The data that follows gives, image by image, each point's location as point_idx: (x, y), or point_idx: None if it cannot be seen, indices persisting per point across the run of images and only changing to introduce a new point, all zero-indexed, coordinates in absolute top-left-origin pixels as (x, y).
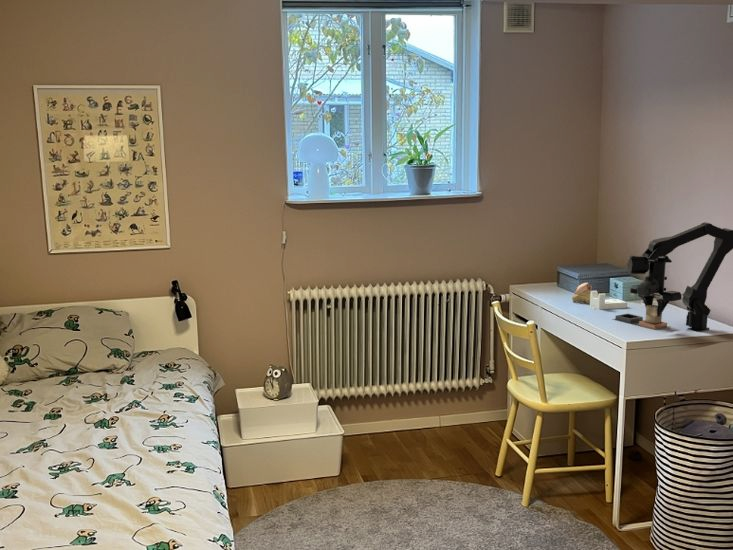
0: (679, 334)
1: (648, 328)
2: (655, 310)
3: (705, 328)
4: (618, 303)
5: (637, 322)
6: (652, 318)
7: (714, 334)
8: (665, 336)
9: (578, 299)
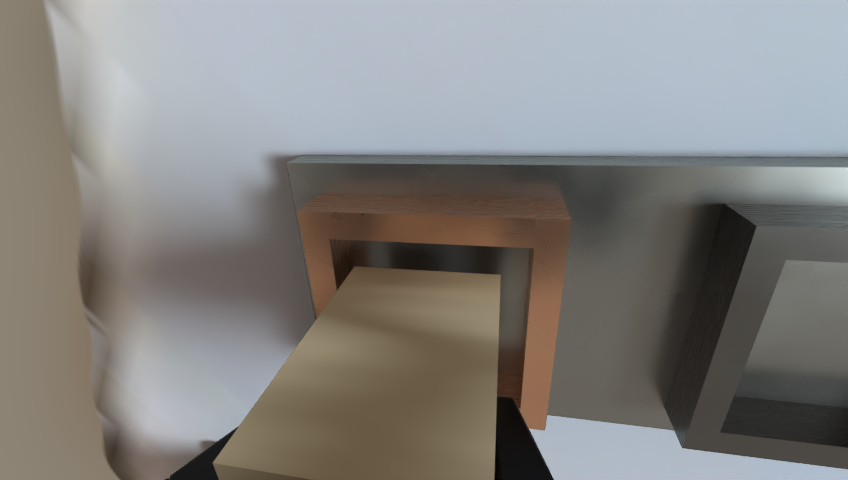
0: (186, 291)
1: (380, 162)
2: (258, 413)
3: None
4: None
5: (665, 307)
6: (366, 303)
7: (137, 450)
8: (150, 121)
9: None
